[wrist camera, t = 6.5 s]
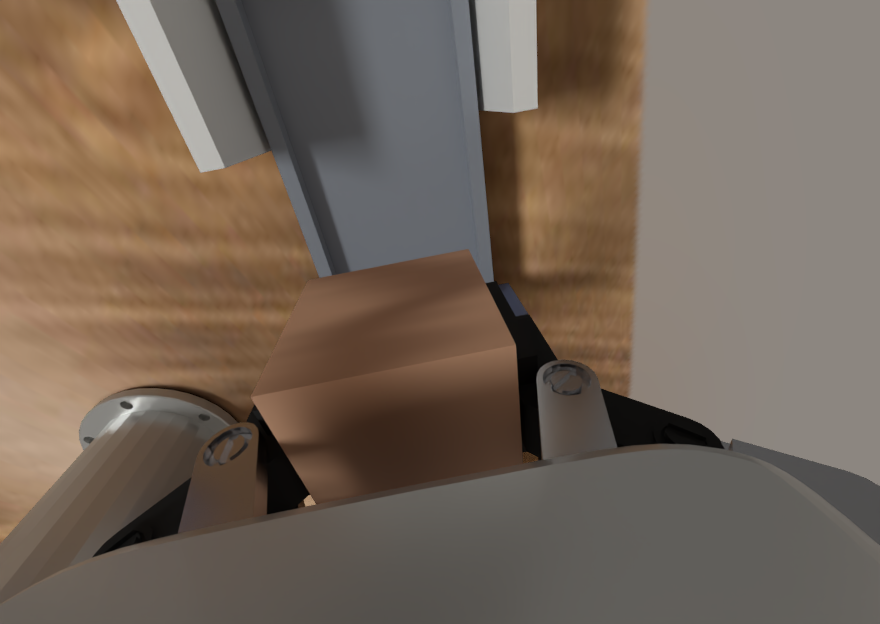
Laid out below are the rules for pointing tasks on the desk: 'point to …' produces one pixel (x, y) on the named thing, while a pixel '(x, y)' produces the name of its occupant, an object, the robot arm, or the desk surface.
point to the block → (393, 379)
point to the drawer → (227, 95)
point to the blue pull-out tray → (371, 125)
